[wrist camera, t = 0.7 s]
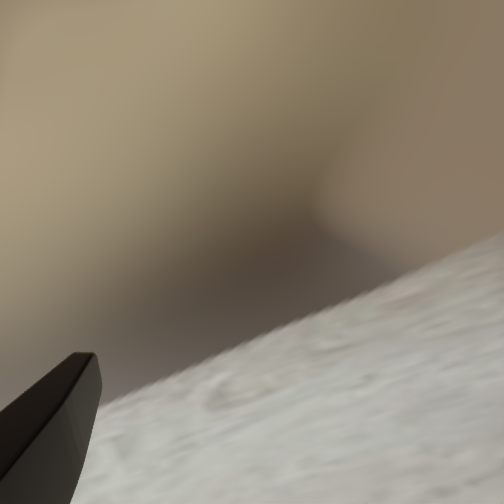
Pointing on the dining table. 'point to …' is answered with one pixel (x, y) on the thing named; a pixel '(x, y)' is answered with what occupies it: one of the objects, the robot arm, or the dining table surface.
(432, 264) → the dining table surface
